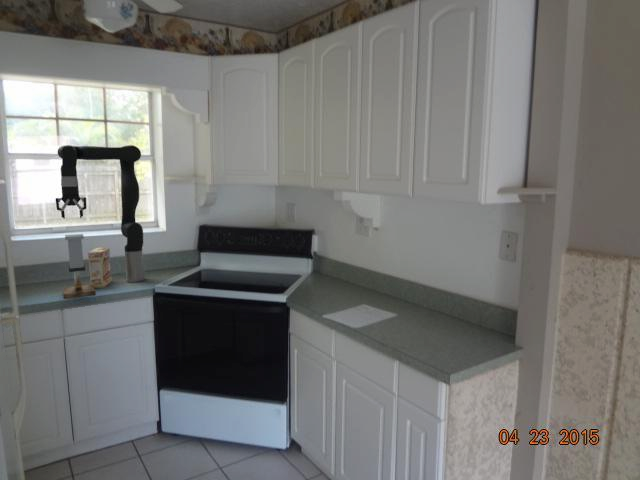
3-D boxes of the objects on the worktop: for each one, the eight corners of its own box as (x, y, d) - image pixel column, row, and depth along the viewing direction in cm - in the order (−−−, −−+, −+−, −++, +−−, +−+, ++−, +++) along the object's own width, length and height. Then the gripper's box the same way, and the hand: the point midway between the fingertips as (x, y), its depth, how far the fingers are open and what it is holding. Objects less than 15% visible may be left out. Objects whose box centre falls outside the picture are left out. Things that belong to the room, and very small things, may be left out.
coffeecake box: (104, 287, 247) (101, 251, 243) (90, 288, 245) (87, 252, 242) (112, 281, 261) (109, 247, 258) (99, 281, 260) (96, 247, 257)
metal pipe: (82, 288, 238) (79, 255, 235) (82, 289, 235) (80, 257, 232) (74, 289, 236) (71, 256, 233) (74, 290, 233) (72, 257, 230)
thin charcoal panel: (84, 267, 239) (84, 264, 238) (85, 270, 232) (85, 267, 232) (68, 269, 235) (68, 266, 235) (69, 272, 229) (68, 269, 229)
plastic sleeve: (85, 264, 239) (82, 233, 236) (86, 267, 232) (83, 236, 230) (67, 266, 235) (65, 235, 233) (67, 269, 228) (65, 237, 226)
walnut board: (93, 288, 245) (93, 284, 245) (95, 294, 233) (94, 290, 233) (63, 291, 238) (63, 288, 238) (63, 298, 226) (63, 294, 226)
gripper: (85, 185, 240) (87, 216, 243) (53, 185, 233) (56, 218, 236) (86, 185, 233) (88, 218, 236) (53, 186, 227) (56, 219, 229)
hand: (72, 218), depth 236 cm, fingers open, 7 cm apart
